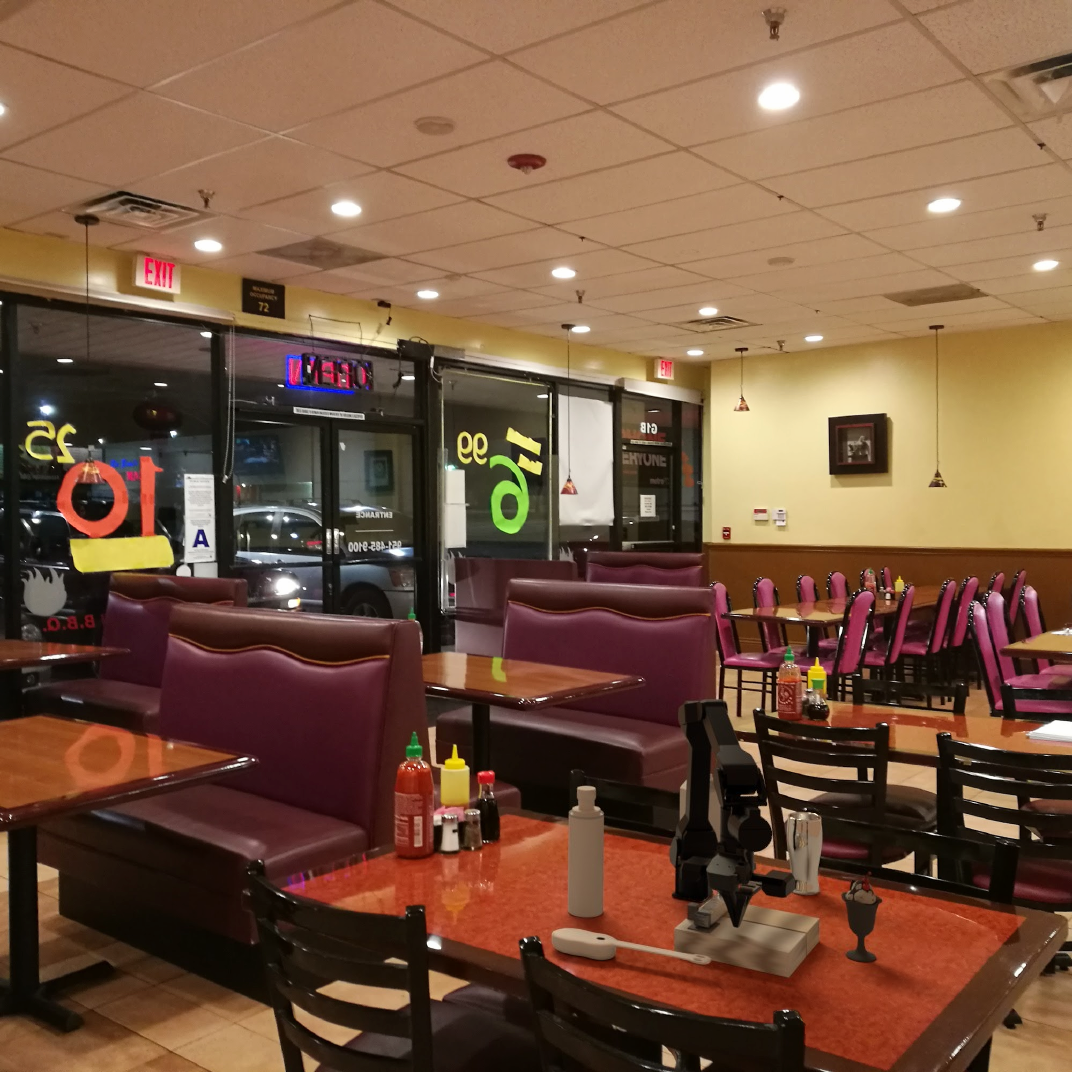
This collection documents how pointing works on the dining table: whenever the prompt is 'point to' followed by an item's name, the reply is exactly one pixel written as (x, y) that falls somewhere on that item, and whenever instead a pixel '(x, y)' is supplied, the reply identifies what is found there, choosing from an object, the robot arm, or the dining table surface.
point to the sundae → (861, 916)
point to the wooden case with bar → (751, 939)
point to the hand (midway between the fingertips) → (736, 926)
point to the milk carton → (713, 806)
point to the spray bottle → (585, 856)
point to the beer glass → (804, 850)
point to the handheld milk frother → (608, 946)
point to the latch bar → (710, 912)
